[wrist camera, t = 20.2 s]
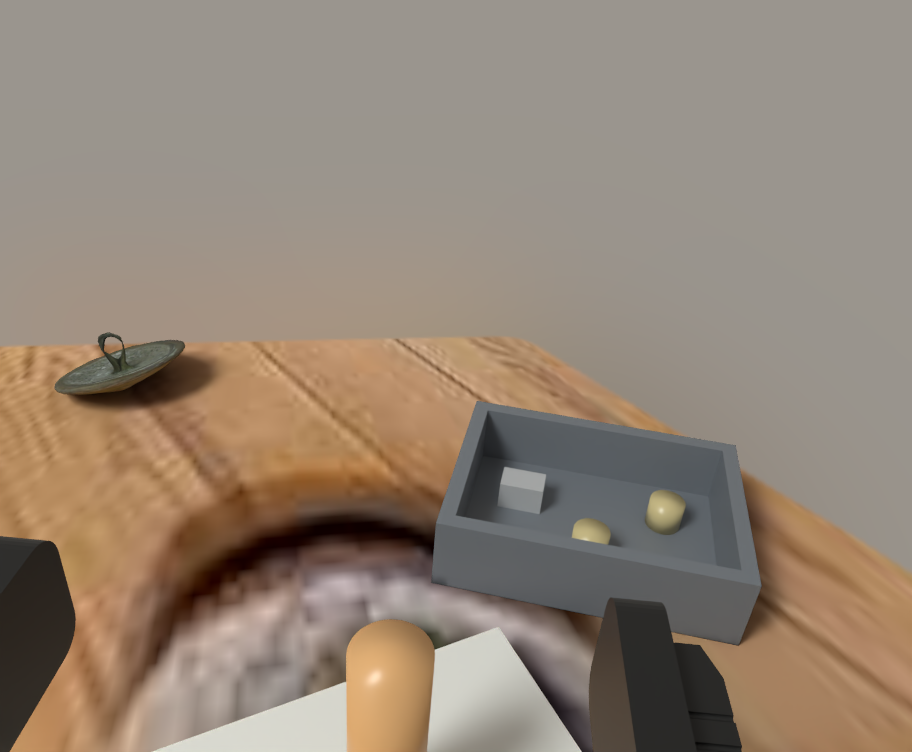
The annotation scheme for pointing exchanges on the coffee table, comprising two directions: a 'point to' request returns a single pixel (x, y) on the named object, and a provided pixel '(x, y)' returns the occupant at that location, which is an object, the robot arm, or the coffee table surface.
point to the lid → (119, 367)
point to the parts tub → (599, 520)
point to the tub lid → (407, 703)
